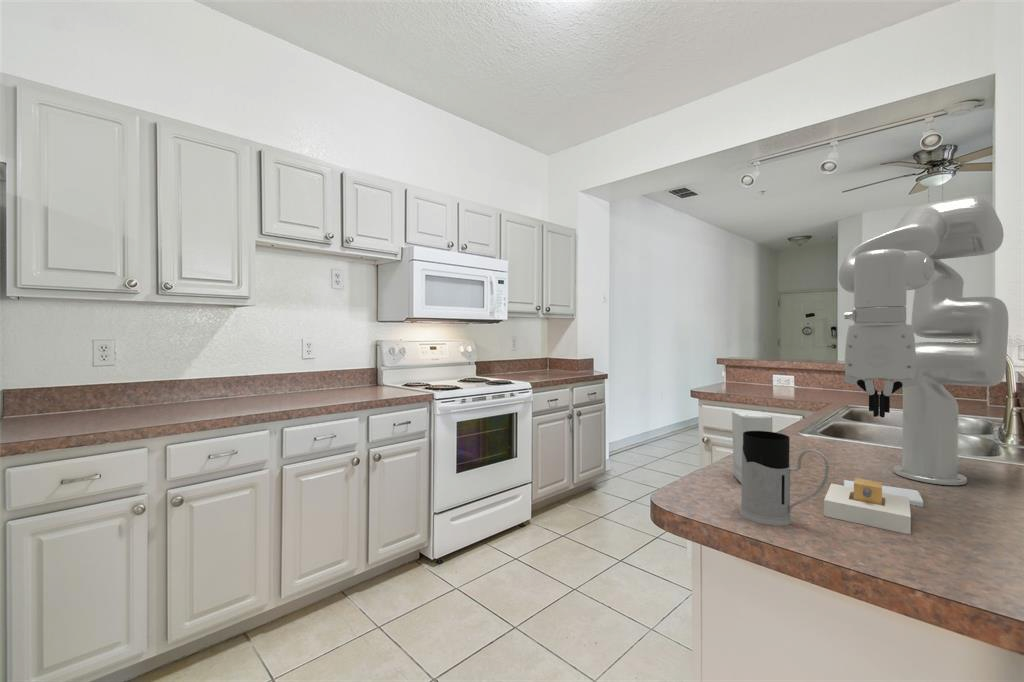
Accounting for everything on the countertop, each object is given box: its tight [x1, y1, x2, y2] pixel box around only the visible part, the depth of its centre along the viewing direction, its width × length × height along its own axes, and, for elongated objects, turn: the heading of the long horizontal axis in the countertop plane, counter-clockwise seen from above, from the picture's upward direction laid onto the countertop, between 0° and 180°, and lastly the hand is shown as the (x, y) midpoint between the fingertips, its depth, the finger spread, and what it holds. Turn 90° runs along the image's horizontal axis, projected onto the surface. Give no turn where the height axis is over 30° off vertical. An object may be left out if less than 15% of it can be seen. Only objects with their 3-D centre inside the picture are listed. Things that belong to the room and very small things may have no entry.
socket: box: [823, 482, 912, 535], centre depth 84 cm, size 12×12×3 cm
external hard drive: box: [843, 479, 924, 508], centre depth 95 cm, size 2×8×12 cm
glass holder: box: [738, 431, 830, 527], centre depth 82 cm, size 9×14×15 cm, turn 41°
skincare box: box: [731, 410, 773, 485], centre depth 103 cm, size 8×7×16 cm
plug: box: [853, 477, 883, 505], centre depth 83 cm, size 6×4×6 cm
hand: (879, 415), depth 84 cm, fingers closed
